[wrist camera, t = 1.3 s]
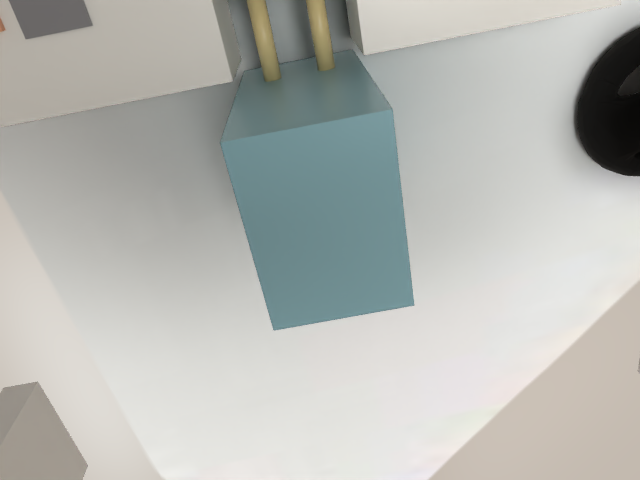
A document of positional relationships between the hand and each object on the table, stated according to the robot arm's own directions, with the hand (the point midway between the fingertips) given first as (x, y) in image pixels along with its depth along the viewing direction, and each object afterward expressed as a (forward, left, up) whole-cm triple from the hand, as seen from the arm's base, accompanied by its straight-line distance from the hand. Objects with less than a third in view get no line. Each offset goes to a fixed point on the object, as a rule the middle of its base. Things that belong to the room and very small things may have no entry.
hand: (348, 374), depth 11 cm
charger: (-2, 0, -16) cm, 16 cm away
